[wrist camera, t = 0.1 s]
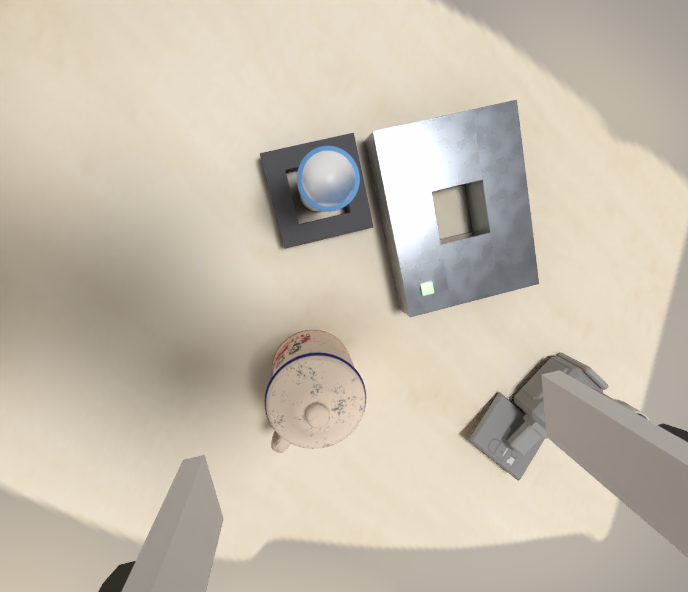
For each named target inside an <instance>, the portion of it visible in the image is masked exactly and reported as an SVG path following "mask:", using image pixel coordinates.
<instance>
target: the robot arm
mask: <svg viewBox="0 0 688 592" xmlns="http://www.w3.org/2000/svg"><path fill="white" fill-rule="evenodd" d="M541 376H542V388H543V400H544V411H545V423H546V435H547V438H549V439H550V440H551V441H552V442H553V443H554V444H556V445H557V446H558V447H559V448H560V449H561V450H563V451H564V452H565V453H566V454H567V455H568V456H570V457H571V458H572V459H573V460H574V461H575V462H577V463H578V464H579V465H580V466H581V467H582V468H584V469H585V470H586V471H587V472H588V473H589V474H591V475H592V476H593V477H594V478H595V479H596V480H598V481H599V482H600V483H601V484H602V485H603V486H605V487H606V488H607V489H608V490H609V491H610V492H612V493H613V494H614V495H615V496H616V497H617V498H619V499H620V500H621V501H622V502H623V503H625V504H626V505H627V506H628V507H629V508H630V509H632V510H633V511H634V512H635V513H636V514H637V515H639V516H640V517H641V518H642V519H643V520H644V521H646V522H647V523H648V524H649V525H650V526H651V527H653V528H654V529H655V530H656V531H657V532H658V533H660V534H661V535H662V536H663V537H664V538H665V539H667V540H668V541H669V542H670V543H671V544H673V545H674V546H675V547H676V548H677V549H678V550H679V551H681V552H682V553H683V554H684V555H685V556H686V557H688V432H687V431H684V430H682V429H678V428H675V427H672V426H669V425H666V424H660V425H656V424H654V423H652V422H651V421H649V420H647V419H645V418H643V417H642V416H640V415H638V414H636V413H635V412H633V411H631V410H629V409H627V408H626V407H624V406H622V405H620V404H619V403H617V402H615V401H613V400H611V399H610V398H608V397H606V396H604V395H603V394H601V393H599V392H597V391H596V390H594V389H592V388H590V387H588V386H587V385H585V384H583V383H581V382H580V381H578V380H576V379H574V378H572V377H571V376H569V375H567V374H565V373H564V372H562V371H560V370H558V371H554V372H550V373H546V374H542V375H541ZM222 522H223V516H222V512H221V509H220V506H219V502H218V499H217V496H216V492H215V489H214V485H213V482H212V479H211V475H210V472H209V469H208V465H207V462H206V458H205V455H202V456H198V457H194V458H190V459H185V460H183V461H182V464H181V466H180V468H179V470H178V472H177V474H176V476H175V479H174V481H173V483H172V485H171V487H170V489H169V491H168V494H167V496H166V498H165V500H164V502H163V504H162V506H161V508H160V511H159V513H158V515H157V517H156V519H155V521H154V523H153V526H152V528H151V530H150V532H149V534H148V536H147V538H146V540H145V543H144V545H143V547H142V549H141V552H140V553H139V555H138V558H137V560H136V561H133V562H129V563H125V564H121V565H119V566H118V567H117V568H116V569H115V570H114V571H113V573H112V574H111V575H110V576H109V577H108V578H107V579H106V581H105V582H104V583H103V584H102V586H101V588H100V590H99V592H206V589H207V585H208V581H209V577H210V572H211V568H212V564H213V560H214V556H215V552H216V547H217V543H218V539H219V535H220V531H221V527H222Z"/></svg>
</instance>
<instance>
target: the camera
mask: <svg viewBox="0 0 688 592" xmlns="http://www.w3.org/2000/svg"><path fill="white" fill-rule="evenodd" d="M558 370H560V371H562V372H564V373H565V374H567V375H569V376H571V377H572V378H574V379H576V380H578V381H580V382H581V383H583V384H585V385H587V386H588V387H590V388H592V389H594V390H596V391H597V392H599V393H601V394H603V390H604V389H607V388H608V384H607V383H606V382H605V381H604V380H603V379H601V378H600V377H599V376H598V375H597V374H596V373H595V372H594V371H593V370H592V369H591V368H590V367H588V366H586V365H584V364H582V363H580V362H579V361H577V360H575V359H573V358H571V357H569V356H567V355H565V354H563V353H559V354H558V356H554V357H551V358H550V359H549V360H548V361H547V362H546V363H545V364H544V365H543V366H542V367H541V368H540V369H539V370H538V371H537V372H536V374H535V375H534V376H533V377H532V378H531V379H530V380H529V381H528V382H527V383H526V384H525V385H524V386H523V387H522V388H521V389H520V390H519V391H518V393H517V394H516V395H515V396H514V403H515V404H516V405H517V406H519V407H520V408H521V409H522V410H523V411H524V412H525V414H524V413H523V412H521V411H520V410H519V409H518V408H517V407H516V406H515V405H513V404H512V403H511V402H510V401H509V400H508V399H507V398H505V397H504V396H503V395H502V394H501V393H498V394H497V396H496V397H495V399H494V400H493V402H492V403H491V405H490V406H489V408H488V410H487V411H486V413H485V414H484V416H483V417H482V419H481V420H480V422H479V423H478V425H477V427H476V428H475V430H474V431H473V433H472V434H471V436H470V437H469V439H468V440H469V441H470V442H471V443H472V444H474V445H475V446H476V447H477V448H479V449H480V450H481V451H482V452H483V453H485V454H486V455H487V456H488V457H490V458H491V459H492V460H493V461H495V462H496V463H497V464H498V465H499V466H501V467H502V468H503V469H504V470H506V471H507V472H508V473H509V474H511V475H512V476H513V477H514V478H515V479H517V480H520V479H521V477H522V476H523V474H524V472H525V471H526V469H527V467H528V466H529V464H530V462H531V461H532V459H533V457H534V456H535V454H536V452H537V451H538V449H539V447H540V446H541V444H542V442H543V441H544V439H546V438H547V435H546V423H545V411H544V400H543V388H542V376H541V375H542V374H546V373H550V372H554V371H558ZM602 389H603V390H602ZM603 395H604V396H606V397H608V398H610V397H609V396H607V395H605V394H603ZM610 399H611V400H613V401H615V402H617V403H619V404H620V405H622V406H624V407H626V408H627V409H629V410H631V411H633V412H635V413H636V414H638V415H640V416H642V417H643V418H645V419H647V420H649V418H648V416H646V415H645V414H644V413H642V412H640V411H639V410H637V409H635V408H633V407H632V406H630V405H628V404H627V403H625V402H623V401H621V400H616V399H612V398H610ZM649 421H650V420H649Z"/></svg>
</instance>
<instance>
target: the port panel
mask: <svg viewBox="0 0 688 592" xmlns="http://www.w3.org/2000/svg"><path fill="white" fill-rule="evenodd" d="M365 141H366V146H367V151H368V156H369V160H370V165H371V170H372V175H373V180H374V185H375V190H376V195H377V200H378V205H379V209H380V214H381V219H382V224H383V229H384V234H385V239H386V244H387V249H388V254H389V259H390V263H391V268H392V273H393V278H394V283H395V288H396V293H397V298H398V303H399V308H400V309H401V310H402V311H403V312H404V313H406V314H407V315H408V316H409V317H413V316H417V315H421V314H425V313H428V312H432V311H436V310H440V309H444V308H448V307H452V306H455V305H459V304H463V303H467V302H471V301H475V300H479V299H482V298H486V297H490V296H494V295H498V294H502V293H505V292H509V291H513V290H517V289H521V288H525V287H529V286H532V285H536V284H539V279H538V271H537V263H536V254H535V246H534V238H533V230H532V221H531V213H530V205H529V197H528V188H527V180H526V172H525V164H524V155H523V147H522V139H521V131H520V122H519V114H518V106H517V100H514V101H509V102H505V103H500V104H495V105H491V106H486V107H482V108H477V109H473V110H468V111H464V112H459V113H455V114H450V115H445V116H441V117H436V118H432V119H427V120H423V121H418V122H414V123H409V124H405V125H400V126H395V127H391V128H386V129H382V130H377V131H373V132H372V133H371V134H370V136H369V137H368V138H367V139H366V140H365ZM461 184H465V187H466V194H467V200H468V207H469V213H470V219H471V226H472V232H469V233H465V234H461V235H457V236H453V237H448V238H444V239H440V238H439V232H438V226H437V221H436V215H435V209H434V203H433V198H432V191H436V190H440V189H444V188H449V187H453V186H457V185H461Z"/></svg>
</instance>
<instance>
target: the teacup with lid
mask: <svg viewBox="0 0 688 592" xmlns="http://www.w3.org/2000/svg"><path fill="white" fill-rule="evenodd" d="M365 405H366V391H365V386H364V383H363V380H362V378H361V376H360V375H359V373H358V372H357V370H356V369H355V368H354V365H353V363H352V360H351V358H350V356H349V353H348V351H347V349H346V347H345V346H344V345H343V343H342V342H341V341H340V340H339V339H337V338H336V337H334V336H333V335H331V334H329V333H326V332H323V331H317V330H309V331H303V332H300V333H297V334H295V335H293V336H291V337H290V338H288V339H287V340H286V341H285V342H284V343H283V344H282V345H281V346H280V348H279V349H278V351H277V353H276V355H275V357H274V361H273V366H272V373H271V379H270V382H269V384H268V387H267V390H266V394H265V410H266V415H267V417H268V420H269V422H270V424H271V425H272V427H273V429H274V430H275V431H274V434H273V437H272V441H271V447H272V449H273V450H274V451H276V452H278V453H282V452H284V451H285V450H286V449H287V448H288V447H289V445H290V444H293V445H296V446H299V447H303V448H311V449H316V448H324V447H328V446H331V445H334V444H336V443H338V442H340V441H342V440H343V439H345V438H346V437H347V436H349V435H350V434H351V433H352V432H353V431H354V429H355V428H356V427H357V425H358V424H359V422H360V420H361V418H362V416H363V413H364V410H365Z"/></svg>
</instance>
